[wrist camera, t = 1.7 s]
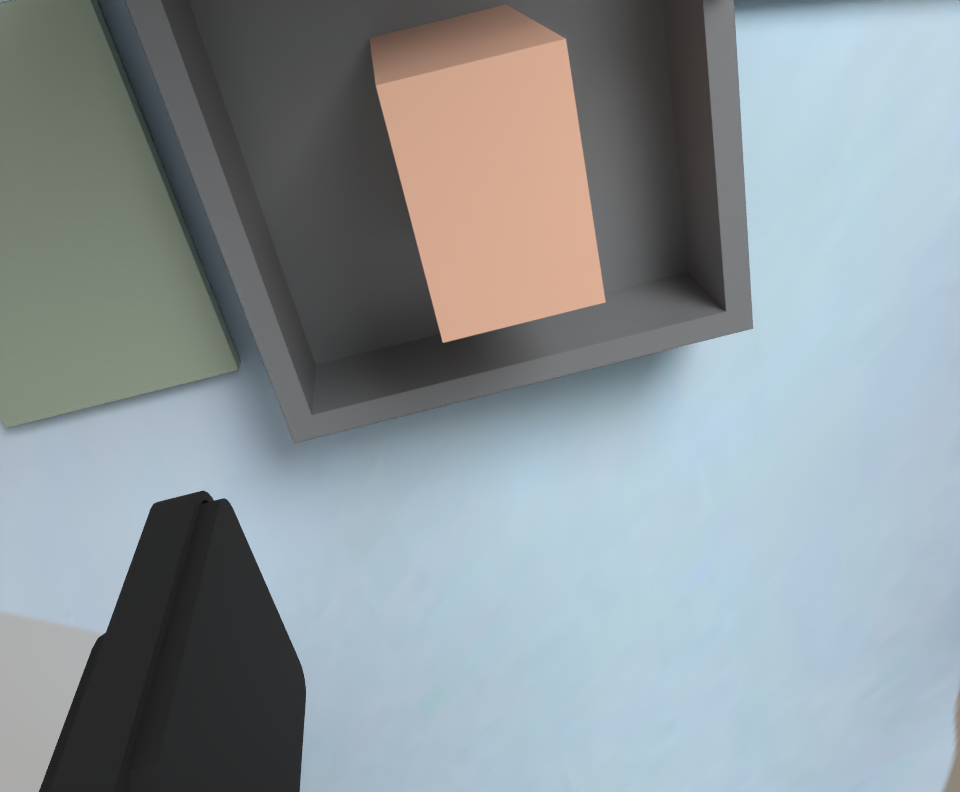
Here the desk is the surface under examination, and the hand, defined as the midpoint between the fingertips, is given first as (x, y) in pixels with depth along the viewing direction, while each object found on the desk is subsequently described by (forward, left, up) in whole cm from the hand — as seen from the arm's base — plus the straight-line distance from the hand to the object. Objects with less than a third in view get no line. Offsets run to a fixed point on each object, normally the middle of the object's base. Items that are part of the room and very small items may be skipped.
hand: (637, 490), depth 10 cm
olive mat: (0, -13, -19) cm, 23 cm away
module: (0, 0, -19) cm, 19 cm away
